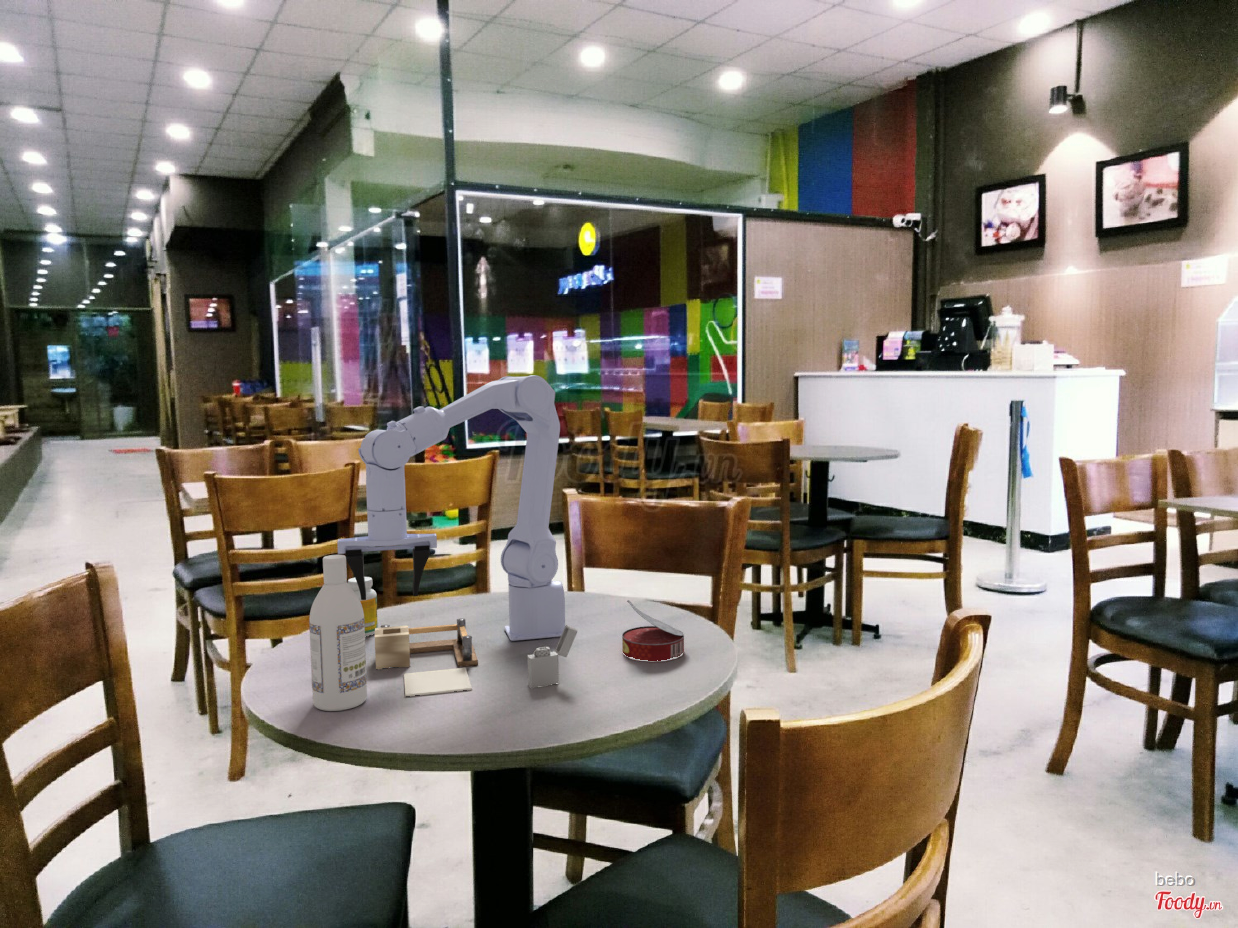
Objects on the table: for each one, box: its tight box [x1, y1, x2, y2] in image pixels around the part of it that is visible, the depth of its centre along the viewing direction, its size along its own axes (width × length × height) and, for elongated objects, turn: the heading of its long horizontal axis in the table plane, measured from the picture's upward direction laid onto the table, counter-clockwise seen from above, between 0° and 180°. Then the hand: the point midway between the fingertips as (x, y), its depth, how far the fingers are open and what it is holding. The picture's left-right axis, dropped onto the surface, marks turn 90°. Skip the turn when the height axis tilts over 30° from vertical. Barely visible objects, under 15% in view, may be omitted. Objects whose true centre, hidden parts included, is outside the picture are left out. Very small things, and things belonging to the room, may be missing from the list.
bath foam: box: [308, 554, 368, 712], centre depth 112 cm, size 7×7×20 cm
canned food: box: [621, 599, 685, 661], centre depth 133 cm, size 11×10×10 cm
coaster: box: [403, 667, 473, 698], centre depth 120 cm, size 9×9×1 cm
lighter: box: [526, 624, 578, 689], centre depth 119 cm, size 7×2×8 cm, turn 113°
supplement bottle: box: [347, 576, 379, 637], centre depth 144 cm, size 5×5×10 cm
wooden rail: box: [380, 618, 479, 668], centre depth 131 cm, size 14×12×4 cm
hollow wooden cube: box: [374, 625, 411, 670], centre depth 129 cm, size 5×5×5 cm
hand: (389, 596), depth 128 cm, fingers open, 7 cm apart
